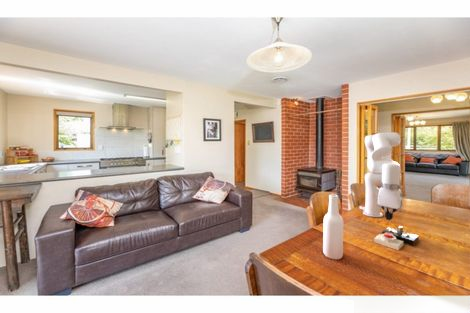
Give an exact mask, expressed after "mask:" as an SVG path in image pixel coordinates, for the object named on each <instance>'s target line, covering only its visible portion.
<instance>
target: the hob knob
mask: <svg viewBox="0 0 470 313" xmlns="http://www.w3.org/2000/svg"><path fill="white" fill-rule="evenodd" d="M396 229H397V234H399V235H401V234H402V233H403V231H404V226H402V225H399V226H397V227H396Z"/></svg>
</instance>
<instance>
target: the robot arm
mask: <svg viewBox="0 0 470 313" xmlns="http://www.w3.org/2000/svg"><path fill="white" fill-rule="evenodd" d="M401 140H402V139H401V135H400V134H399V132H395V131H394V132H378V133H377V132H376V133H375V134H369V135H366V136H364V146H365V148H366V151H367V158H366V160H367V163H366V164H367V170H368V171H369V172H367V173H365V174H364V185H365V196H364V197H365V200H364V202H365V203H364V206H362V205H359V206H358V208H359V210H362V214H363V215H364V216H367V217H371V218H383V216H384V217H385V220H386V221H391V220H392V219H393V218H394V213H396V212H402V211H403V208H402V207H403V193H402V189H403V187H404V186H403V185H401V184H400V178H401V177H400V176H401V165H400V164H399V163H398V162H397V161H394V159H392V158H390V157H388V156H389V155H391V154H392V151H393V150H392V147H393V148H394V147H397V146H399V145H400V144H401ZM378 187H379V188H378ZM381 209H382V210H383V212H384V214H383V213H382V212H381Z"/></svg>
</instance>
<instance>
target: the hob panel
mask: <svg viewBox="0 0 470 313" xmlns="http://www.w3.org/2000/svg"><path fill="white" fill-rule="evenodd" d="M385 233H391V234H393V236H395V237H396V239H397V240H401V241H403V245H408V246H412V247H414V246H415V245H416V244H417V243H418V241H419V234H415V233H412V232H408V231H404V230H403V233H402V234H401V235H399V234H397V228H394V227H389V226H387V227H386V228H385V229H383V230H382V231H381V234H385Z"/></svg>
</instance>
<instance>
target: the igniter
mask: <svg viewBox="0 0 470 313" xmlns="http://www.w3.org/2000/svg"><path fill="white" fill-rule="evenodd" d="M373 242H374V243H375V244H379V245H382V246H384V247H388V248H391V249H394V250H397V251H400V250H401V249H402V247H403V246H404V243H403V241H401V240H397V239H396V237H395V236H393V238H387V237H385V236H384V234H382V233H378V234H377V235H376V236H375V237H374V238H373Z"/></svg>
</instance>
